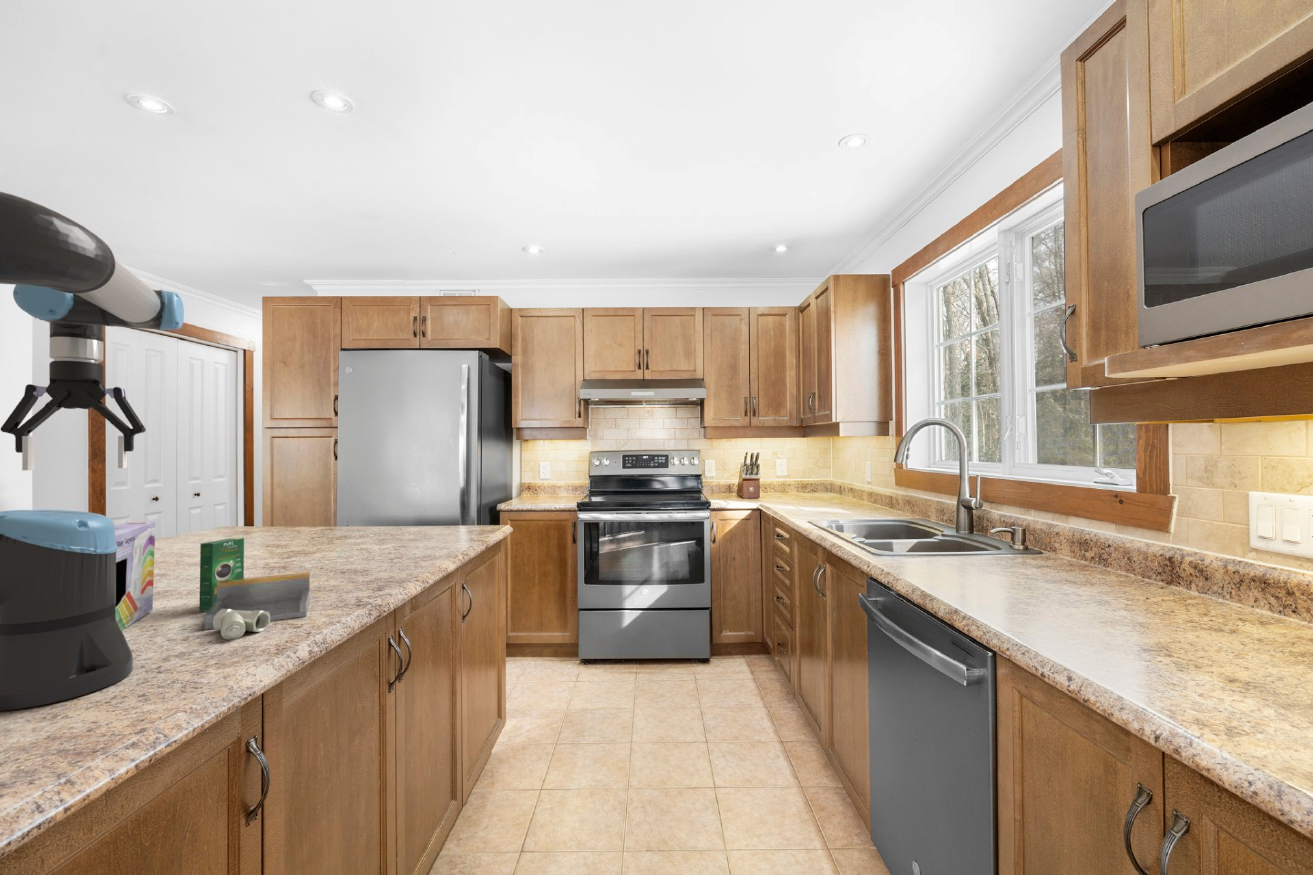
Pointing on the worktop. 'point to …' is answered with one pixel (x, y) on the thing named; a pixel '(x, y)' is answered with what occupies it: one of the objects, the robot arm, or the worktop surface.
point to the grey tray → (264, 596)
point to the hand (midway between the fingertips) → (76, 469)
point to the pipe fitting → (240, 622)
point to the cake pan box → (134, 571)
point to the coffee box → (219, 567)
